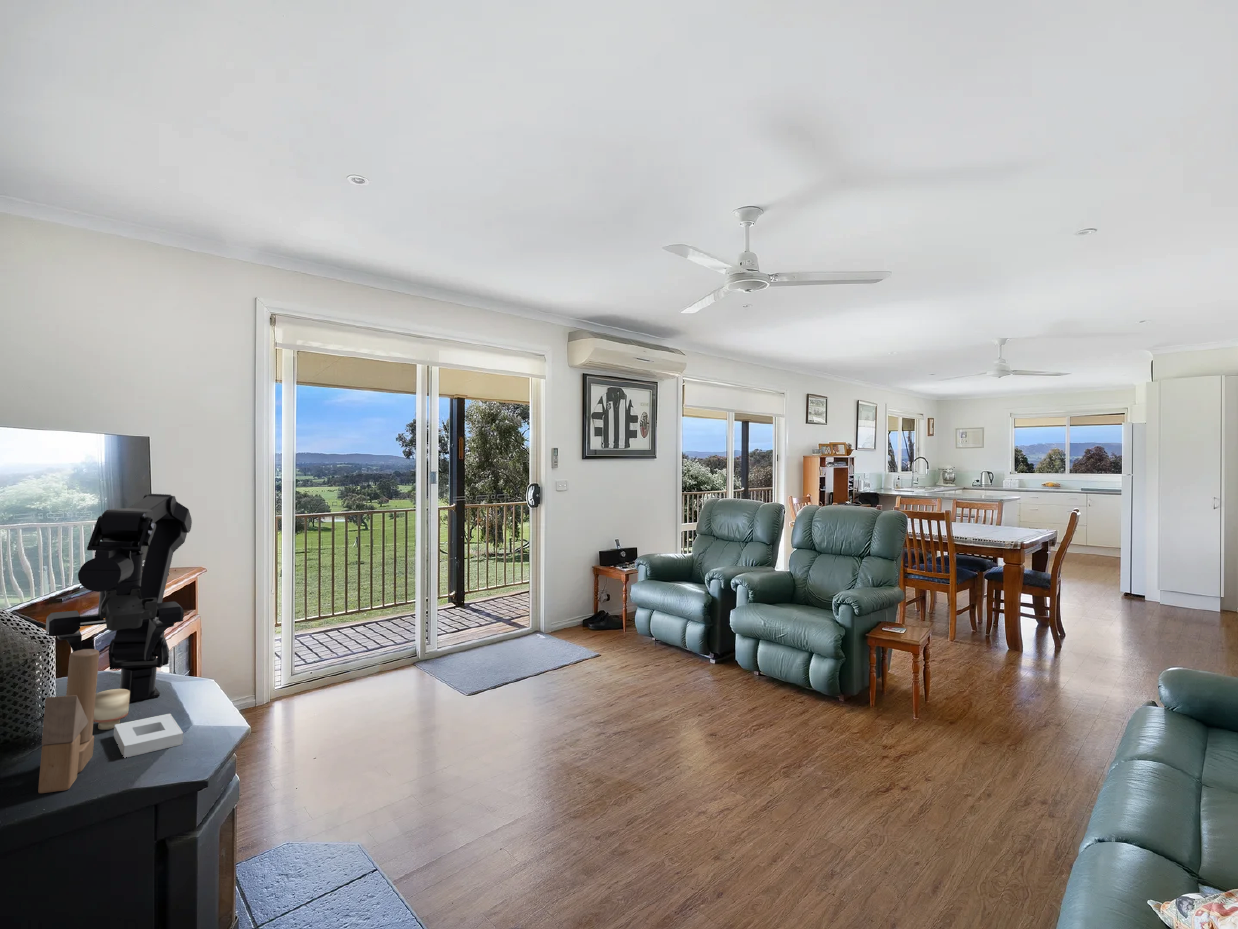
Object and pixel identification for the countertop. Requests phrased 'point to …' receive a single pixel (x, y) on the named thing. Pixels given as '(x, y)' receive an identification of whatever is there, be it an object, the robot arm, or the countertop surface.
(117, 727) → the board
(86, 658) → the wooden block
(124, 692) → the peg
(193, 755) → the countertop surface
